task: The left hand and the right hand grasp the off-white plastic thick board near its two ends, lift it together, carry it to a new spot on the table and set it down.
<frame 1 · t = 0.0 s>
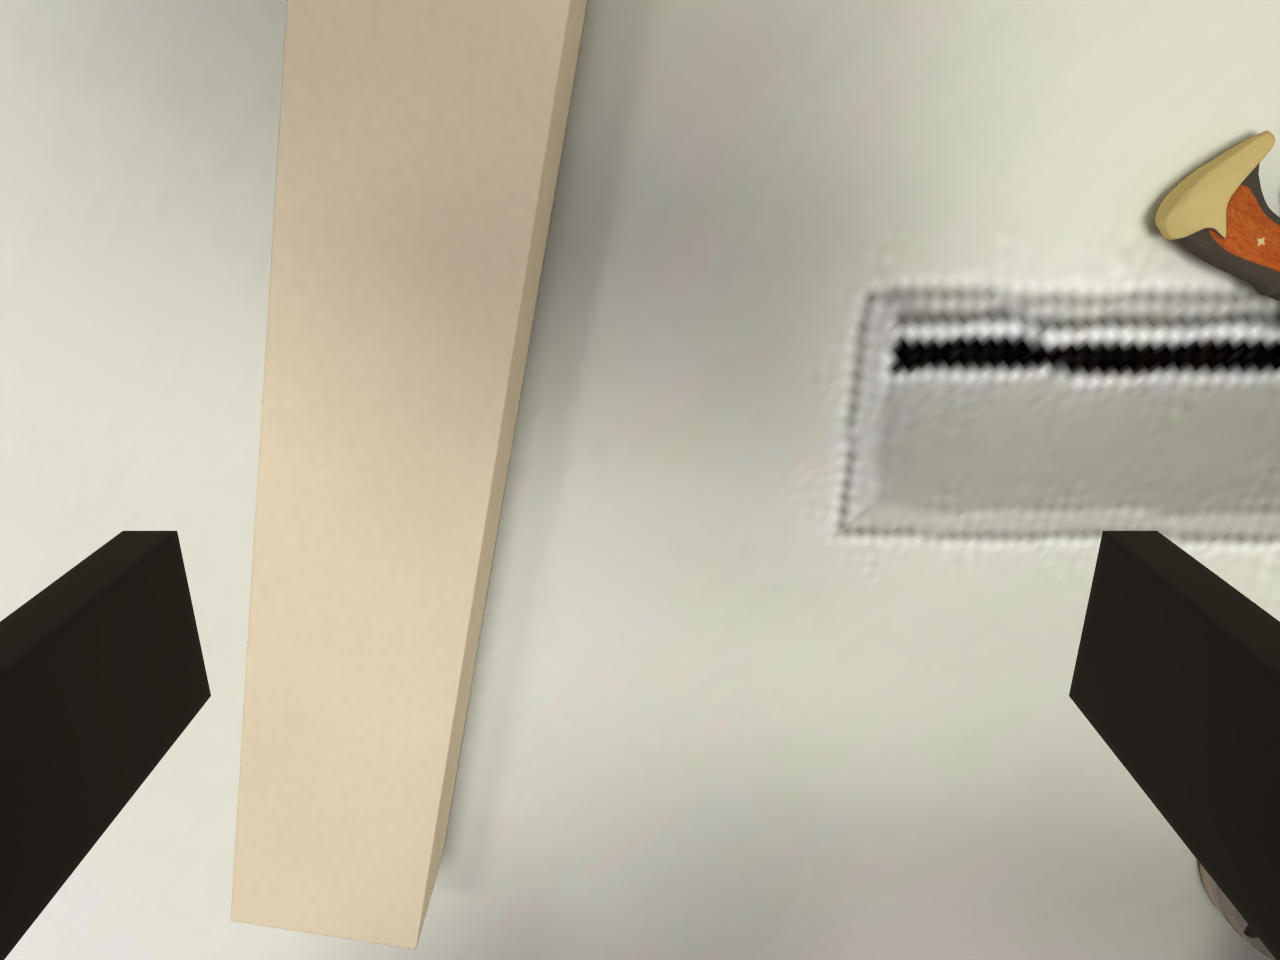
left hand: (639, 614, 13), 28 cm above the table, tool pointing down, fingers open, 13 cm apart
thick board: (423, 358, 40), on the table
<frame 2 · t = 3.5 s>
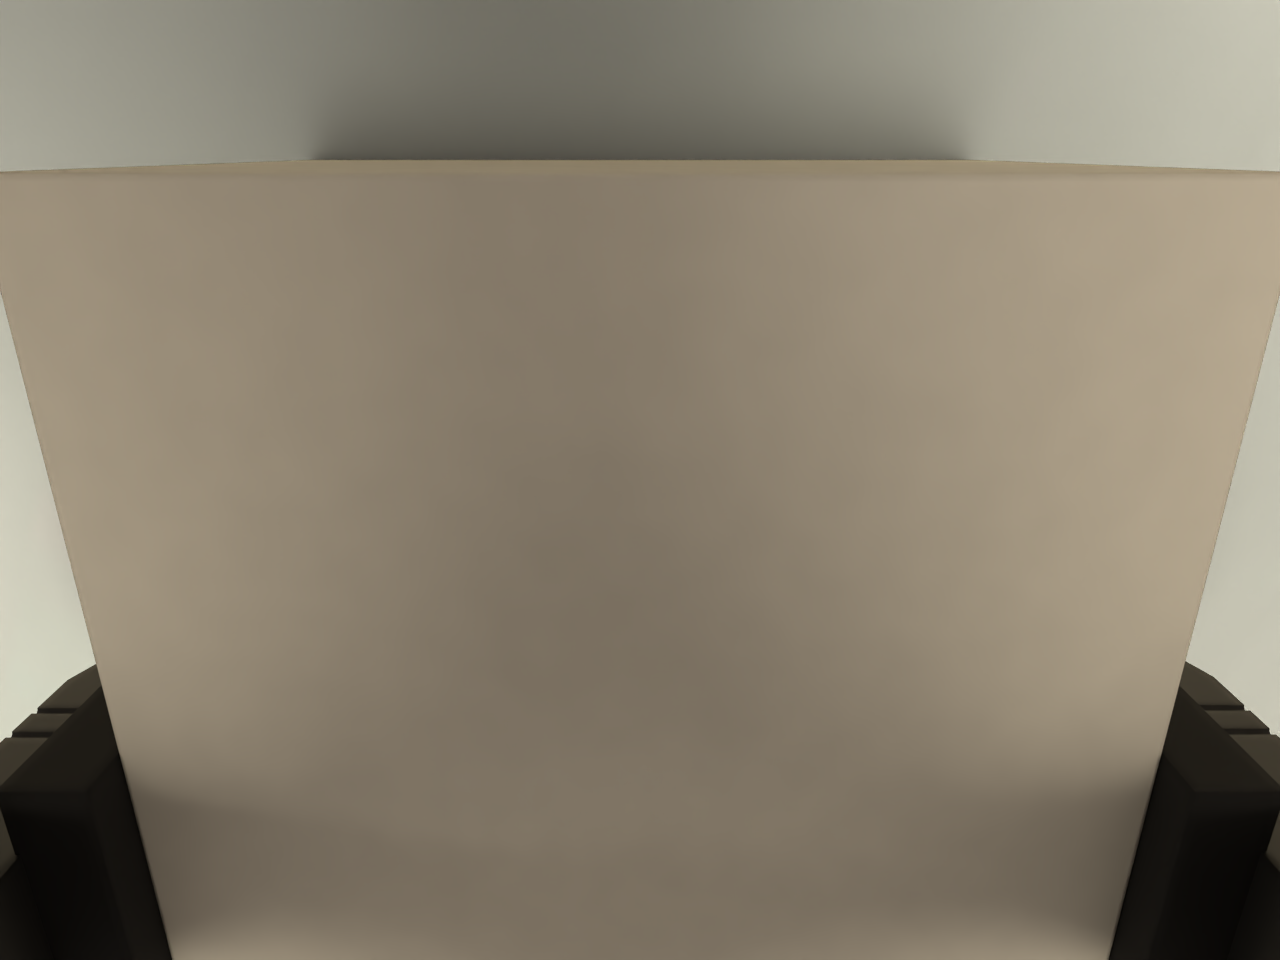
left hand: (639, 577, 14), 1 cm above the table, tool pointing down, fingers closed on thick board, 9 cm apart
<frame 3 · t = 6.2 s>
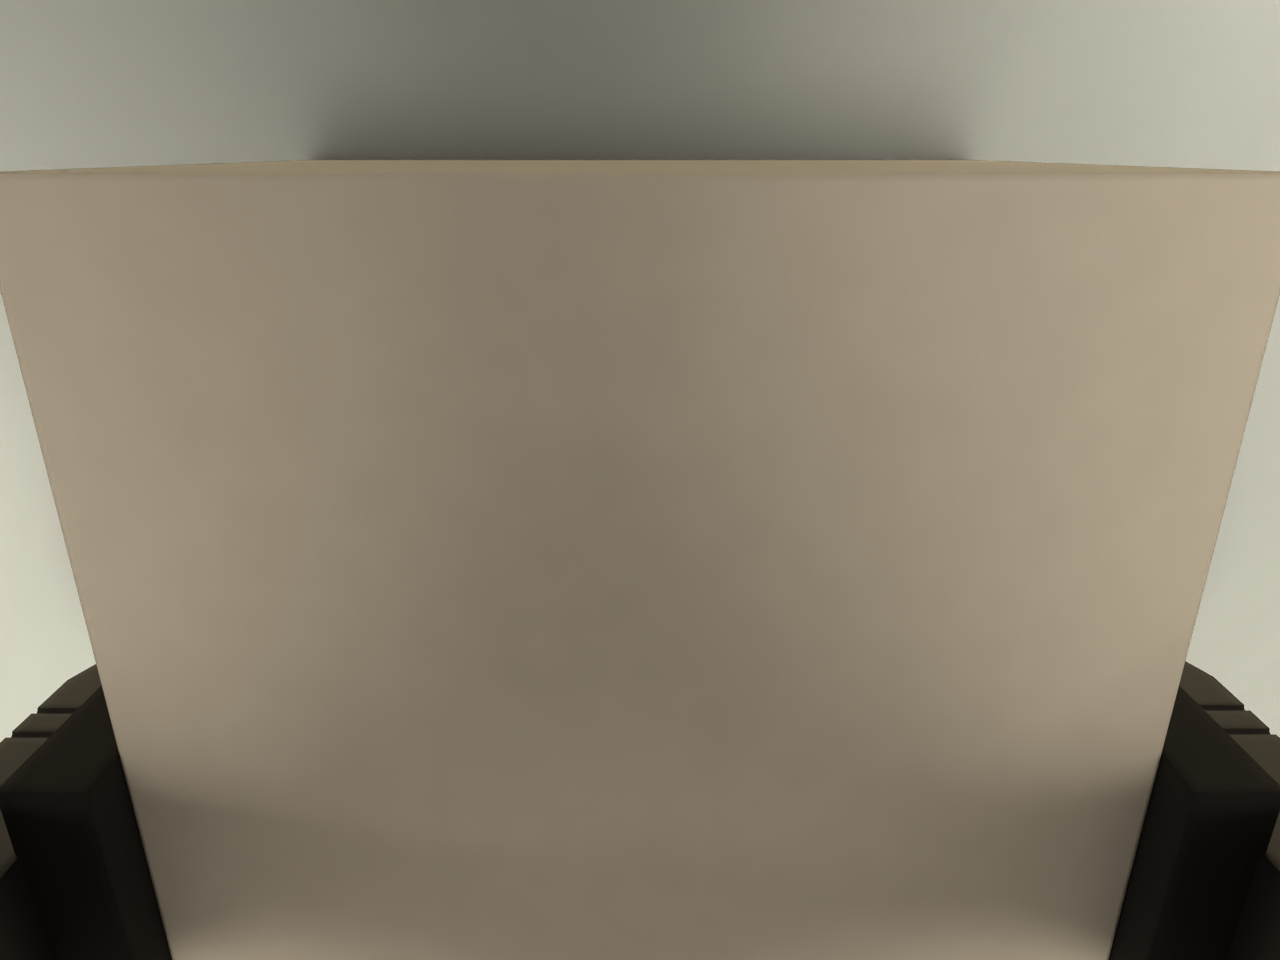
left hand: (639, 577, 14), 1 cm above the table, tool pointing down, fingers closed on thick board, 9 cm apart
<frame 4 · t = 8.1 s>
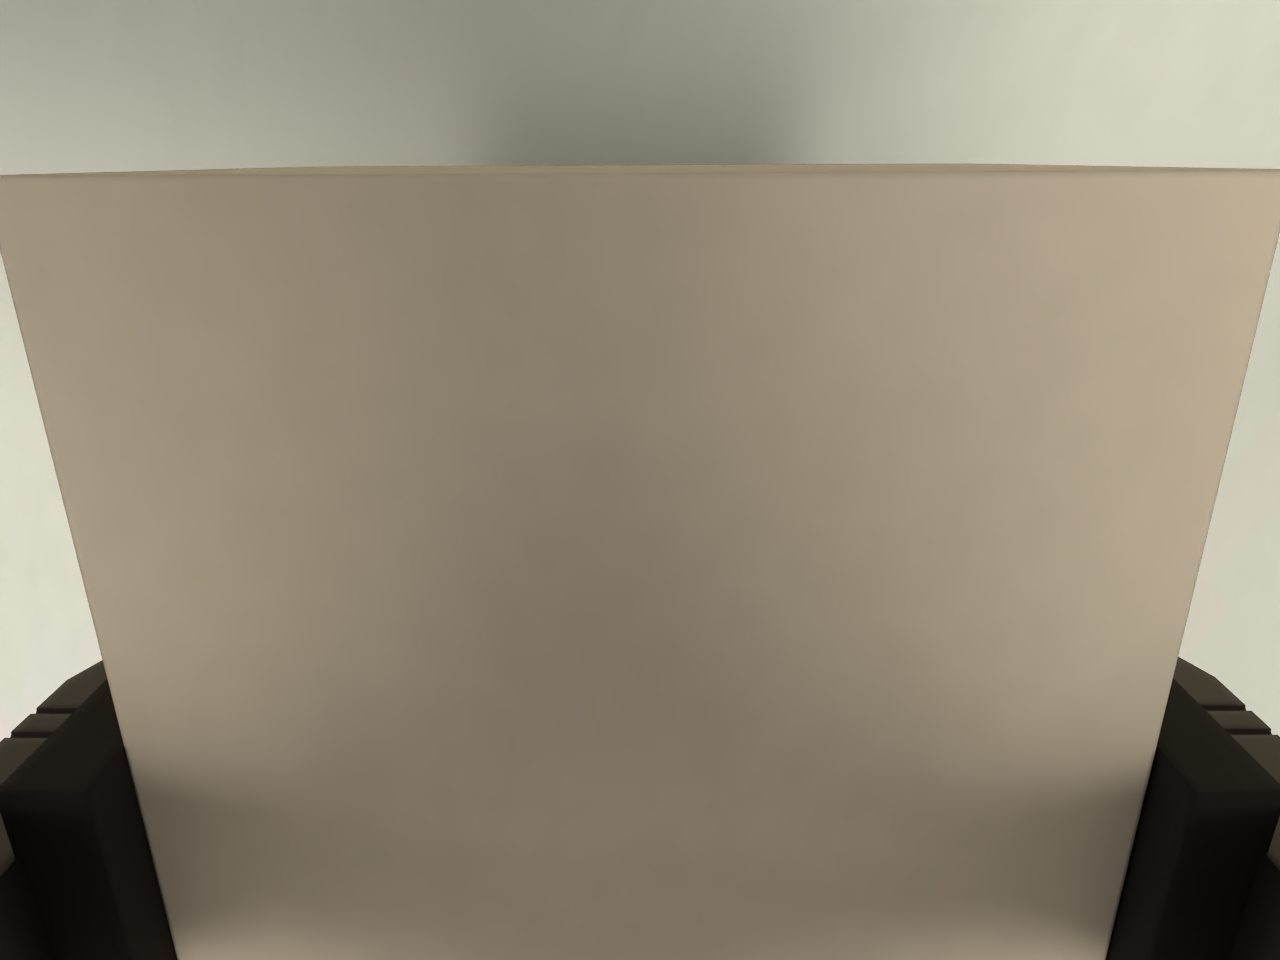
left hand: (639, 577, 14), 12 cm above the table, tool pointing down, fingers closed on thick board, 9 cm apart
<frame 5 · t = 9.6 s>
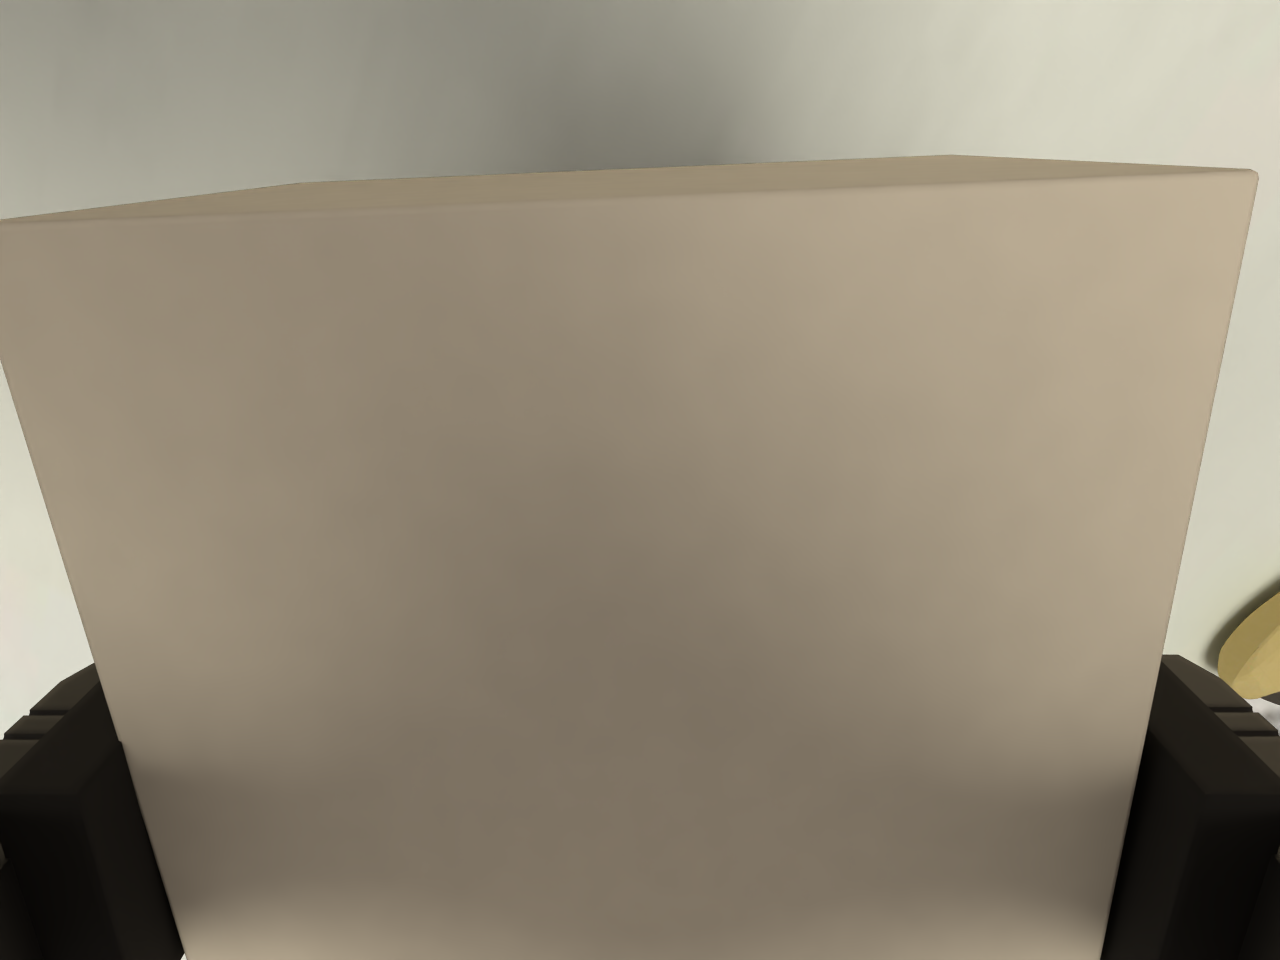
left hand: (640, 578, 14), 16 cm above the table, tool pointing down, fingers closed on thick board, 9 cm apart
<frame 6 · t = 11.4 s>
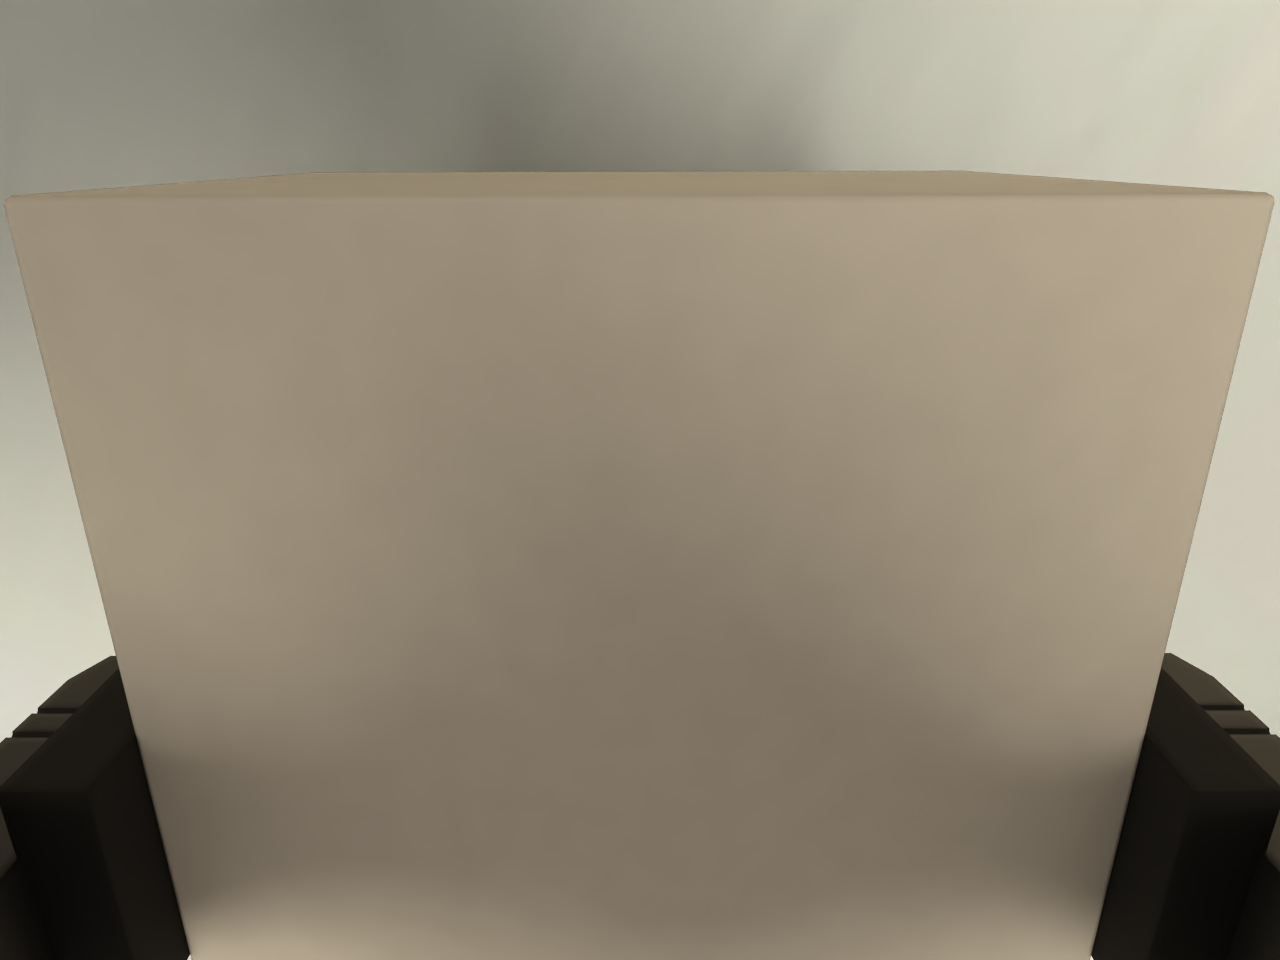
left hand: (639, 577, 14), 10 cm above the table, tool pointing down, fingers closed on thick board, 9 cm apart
when the left hand's fingers open (2 cm above the table, at t = 13.0 s): thick board drops 2 cm, on the table.
when the right hand's fingers open (2 cm above the table, at t = 13.0 s): thick board drops 2 cm, on the table.
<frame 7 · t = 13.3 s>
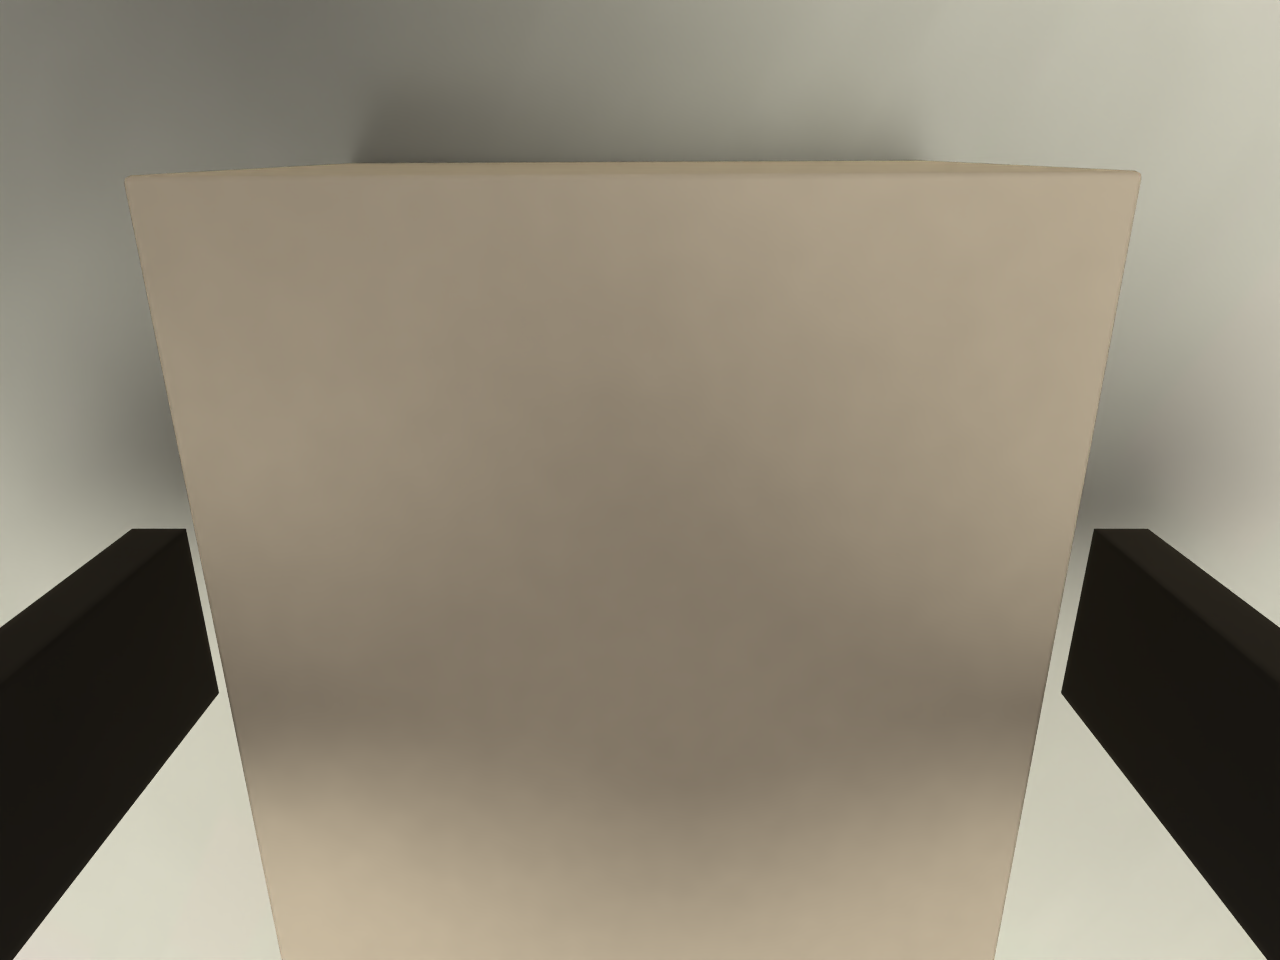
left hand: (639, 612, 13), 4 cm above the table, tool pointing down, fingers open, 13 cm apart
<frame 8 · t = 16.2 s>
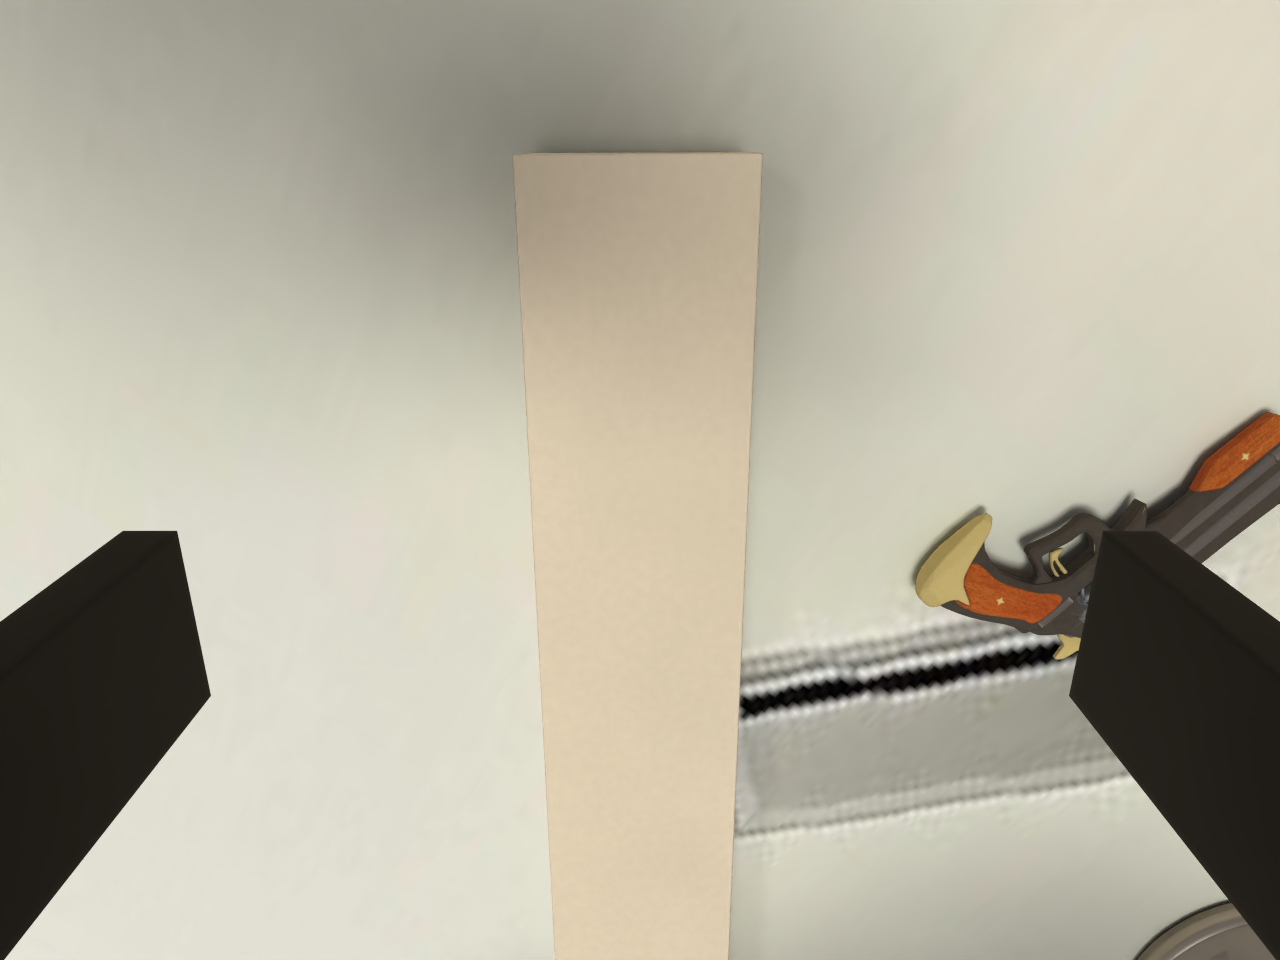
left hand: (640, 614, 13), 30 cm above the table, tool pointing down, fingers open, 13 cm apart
toy gun: (1105, 514, 44), on the table
thick board: (640, 699, 48), on the table
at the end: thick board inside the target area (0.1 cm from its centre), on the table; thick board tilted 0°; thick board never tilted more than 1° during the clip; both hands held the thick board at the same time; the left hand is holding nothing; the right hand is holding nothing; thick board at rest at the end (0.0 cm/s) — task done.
